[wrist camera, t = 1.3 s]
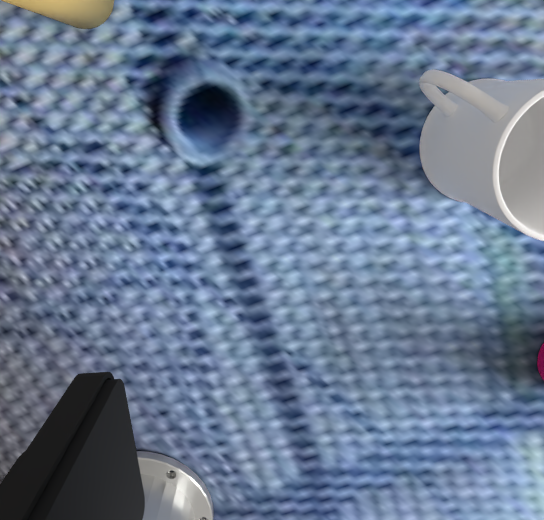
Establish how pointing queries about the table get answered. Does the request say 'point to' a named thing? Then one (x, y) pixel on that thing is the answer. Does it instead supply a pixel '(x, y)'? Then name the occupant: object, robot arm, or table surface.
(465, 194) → the mug
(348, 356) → the table surface
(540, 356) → the pepper mill
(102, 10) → the peg
